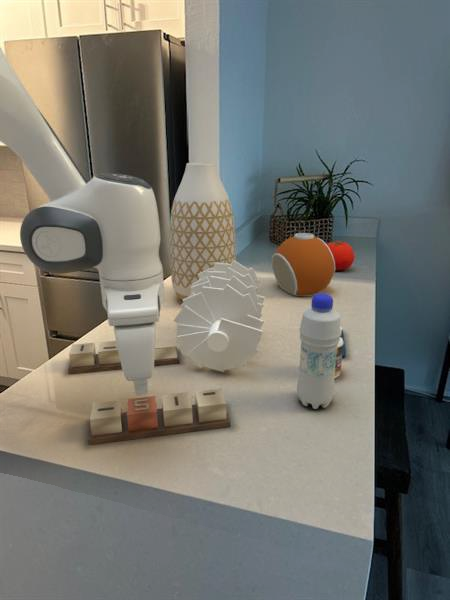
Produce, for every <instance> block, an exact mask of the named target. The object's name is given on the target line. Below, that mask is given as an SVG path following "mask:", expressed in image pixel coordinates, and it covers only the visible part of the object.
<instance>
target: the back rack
mask: <svg viewBox="0 0 450 600" xmlns="http://www.w3.org/2000/svg"><path fill="white" fill-rule="evenodd" d="M97 349H98V350H97V351H96V344H95V342H86V343H84V342H83V343H76V344H75V343H74V344H71V347H70V351H69V354H68V355H69V365H68V369H67V372H68V375H74V374H84V373H85V374H86V373H94V372H105V371H113V370H122V366H121V361H120V357H119V352H118V347H117V342H116V340H111V341H99V343H98V348H97ZM175 364H180V357H179V352H178V347H177V346H168V347H167V346H166V347H157V348H156V347H155V355H154V367H155V366H165V365H175Z"/></svg>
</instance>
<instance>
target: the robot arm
mask: <svg viewBox="0 0 450 600" xmlns="http://www.w3.org/2000/svg"><path fill="white" fill-rule="evenodd" d="M0 142H1V143H2V144H4V145H5V146H6V147H8V148H9V149H10V150H11V151H12V152H13V153H15V155H16V156H17V157H18V158H19V159H20V160H21V162H22V163H23V164H24V166H25V167H26V169H27V170H28V171H29V172H30V174H31V176H32V177H33V178H34V180H35V181H36V182H37V184H38V185H39V187H40V188H41V189H42V191H43V192H44V193H45V195H46V196H47V198H48V199H49V202H45V203H43V204H41V205H39V206H37V207H35V208H34V209H32V210H30V211H29V212H28V213H27V214H26V215H25V217H24V218H23V220H22V222H21V224H20V229H19V230H20V231H19V237H20V244H21V247H22V250H23V252H24V253H25V255H26V257H27V258H28V260H29V261H30V262H31V263H32V264H33V265H34V266H35V267H37V268H38V269H40V270H41V271H43V272H46V273H48V274H54V275H63V274H69V273H77V272H81V271H86V270H90V269H96V270H97V271H98V277H99V285H100V295H101V302H102V306H103V308H104V310H105V311H106V315H107V316H106V317H107V323H108V325H109V326H110V327H113V331H114V337H115V341H116V342H117V347H118V352H119V357H120V361H121V366H122V369H121V371H122V373H123V377H124V378H125V380H126V381H128V382H133V386H134V394H135V395H137V396H143V395H147V394H148V392H149V387H148V386H149V385H148V380H149V379H152V378H153V375H154V369H155V366H154V355H155V348H156V323H158V322H160V315H161V314H160V312H161V308H162V306H163V304H164V302H165V301H166V298H165V284H164V283H165V282H164V267H163V264H162V262H161V259H160V245H161V241H162V240H161V238H162V237H161V225H160V218H159V210H158V205H157V204H158V203H157V199H156V195H155V193H154V190H153V187H152V186H151V184H149V183H148V182H147V181H146V180H145V179H142V178H140V177H138V176H134V175H129V174H124V173H112V172H103V173H99V174H95V175H94V176H92V178H91V179H90V180H89V181H88V179H87V178H86V177H85V176H84V174H83V173H82V171H81V170H80V168H79V166H78V164H77V163H76V162H75V160H74V159H73V158H72V156H71V154H70V153H69V151H68V150H67V149H66V147H65V146H64V144H63V143H62V141H61V139H60V137H59V136H58V135H57V134H56V132H55V131H54V129H53V127H52V126H51V125H50V123H49V122H48V120H47V119H46V118H45V116H44V115H43V113H42V112H41V110H40V109H39V108H38V106H37V105H36V102H35V101H34V100H33V98H32V96H31V95H30V93H29V92H28V91H27V89H26V88H25V86H24V84H23V83H22V81H21V79H20V78H19V75H18V74H17V73H16V71H15V69H14V67H13V66H12V65H11V62H10V61H9V59H8V57H7V55H6V53H4V51H3V49H2V47H1V46H0Z"/></svg>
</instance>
